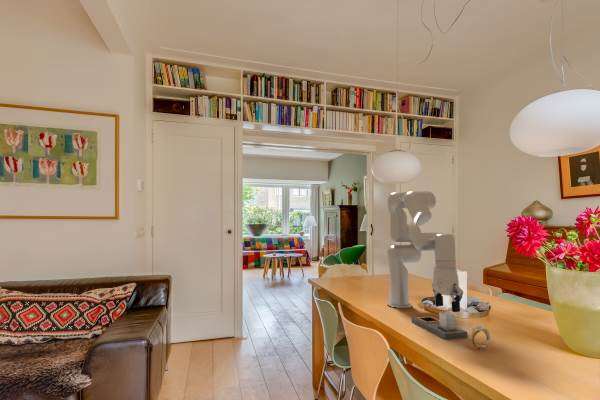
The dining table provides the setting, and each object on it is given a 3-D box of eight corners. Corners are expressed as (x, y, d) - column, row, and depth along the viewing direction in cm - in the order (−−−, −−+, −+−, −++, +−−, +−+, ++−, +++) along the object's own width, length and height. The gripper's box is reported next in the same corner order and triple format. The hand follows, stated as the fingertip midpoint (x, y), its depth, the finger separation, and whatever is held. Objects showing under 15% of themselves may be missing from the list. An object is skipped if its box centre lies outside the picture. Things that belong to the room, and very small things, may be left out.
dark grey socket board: (411, 322, 147) (411, 316, 147) (431, 320, 149) (431, 315, 149) (444, 339, 126) (444, 333, 126) (467, 337, 128) (467, 331, 128)
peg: (439, 332, 133) (439, 312, 134) (448, 332, 134) (447, 311, 134) (446, 336, 129) (445, 315, 130) (455, 335, 130) (454, 314, 131)
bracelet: (487, 347, 118) (486, 323, 119) (493, 350, 115) (492, 326, 115) (468, 347, 118) (467, 324, 118) (473, 351, 115) (472, 327, 115)
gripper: (424, 262, 140) (425, 304, 139) (452, 267, 124) (454, 315, 122) (439, 262, 142) (441, 303, 141) (469, 266, 126) (471, 313, 124)
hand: (447, 308), depth 132 cm, fingers open, 9 cm apart
